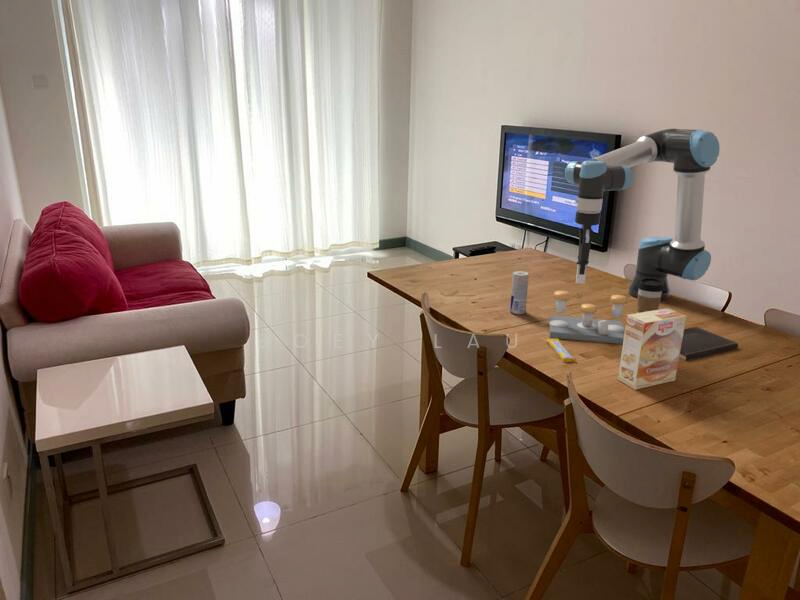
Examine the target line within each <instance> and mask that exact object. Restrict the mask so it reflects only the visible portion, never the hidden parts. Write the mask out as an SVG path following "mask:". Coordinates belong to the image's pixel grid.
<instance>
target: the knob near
mask: <svg viewBox="0 0 800 600" xmlns="http://www.w3.org/2000/svg"><path fill="white" fill-rule="evenodd" d="M610 302H611V303H612V310H611V317H612V318H617V319H621V318H622V317H623V312H624V311H623V310H624V305H626V304H627V303H628V297H627V296H625V295H622V294H612V295H611V296H610Z"/></svg>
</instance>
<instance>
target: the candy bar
mask: <svg viewBox="0 0 800 600" xmlns="http://www.w3.org/2000/svg"><path fill="white" fill-rule="evenodd" d="M545 341H546V342H547V343H548V345H549V346H550V347H551V349H552V348H553V349H552V350H553V351H554V352H555V353H556V355H557V356H558V357H559V358H560V359H561V360H562V362H563V363H566V364H567V362H568V363H575V362H577V358H574V357H573V356H572V354H570V353H569V352H568V350H567V349H566V348H565V347H564V346H563V344H562V343H561V342H560V338H546V339H545Z"/></svg>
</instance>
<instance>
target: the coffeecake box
mask: <svg viewBox="0 0 800 600" xmlns="http://www.w3.org/2000/svg"><path fill="white" fill-rule="evenodd" d="M686 319H687V315H686V314H683V313H681V312H678V311H677V310H674V309H671V308H668V307H667V308H661V309H658V310H654V311H647V312H641V313H637V312H636V313H630V314H626V321H625V326H624V328H625V333H624V340H623V344H622V348H621V354H620V363H619V369H618V376H617V380H618V381H620V382H621V383H624V384H625V385H627V386H628V387H629V388H631V389H632V390H635V391H636V390H640V389H644V388H645V389H646V388H648V387H653V386H657V385H661V384H666V383H669V382H675V381H676V376H677V371H678V364H679V361H680V358H679V355H680V350H681V344H682V338H683V332H684V329H685V326H686V321H687V320H686Z"/></svg>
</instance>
